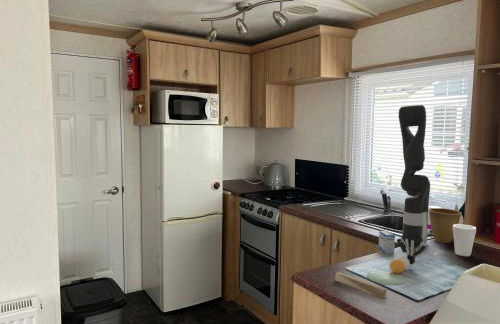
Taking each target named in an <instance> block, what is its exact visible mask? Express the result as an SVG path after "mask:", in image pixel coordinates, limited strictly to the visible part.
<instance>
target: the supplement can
mask: <svg viewBox="0 0 500 324" xmlns="http://www.w3.org/2000/svg"><path fill="white" fill-rule="evenodd" d="M431 208H442V207H441V206H438V205H429V206H428V227H427V235H432V236H433V232H432V228H431V223H430V215H429V209H431Z"/></svg>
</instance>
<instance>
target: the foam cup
mask: <svg viewBox="0 0 500 324" xmlns="http://www.w3.org/2000/svg"><path fill="white" fill-rule="evenodd" d="M476 233H477V227H476V226H473V225H469V224H461V223H459V224H454V225H453V235H454V237H453V244H454V245H453V246H454V254H455V255H458V256H461V257H471V254H472V250H473V246H474V241H475V235H476Z"/></svg>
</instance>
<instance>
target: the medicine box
mask: <svg viewBox="0 0 500 324" xmlns="http://www.w3.org/2000/svg"><path fill="white" fill-rule="evenodd" d="M395 243H396V235H395V234H393V233H392V232H390V231H387V230H379V235H378V250H380V251H382V252H383V253H384V254H395V249H396V247H395V246H396V245H395Z"/></svg>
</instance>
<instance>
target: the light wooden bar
mask: <svg viewBox="0 0 500 324" xmlns="http://www.w3.org/2000/svg"><path fill="white" fill-rule="evenodd" d="M335 282H338V283H341V284H343V285H346V286H349V287H351V288H354V289H357V290H358V291H360V292H361V291H362V292H364V293H366V294H369V295H372V296H373V297H377V298H380V299H382V300H384V299H386V298H387V291H388V290H387V288H385V287H382V286H380V285H377V284H375V283H371V282H368V281H366V280H363V279H361V278H357V277H354V276H352V275H349V274H346V273H344V272H341V271H338V272H335Z"/></svg>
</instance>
